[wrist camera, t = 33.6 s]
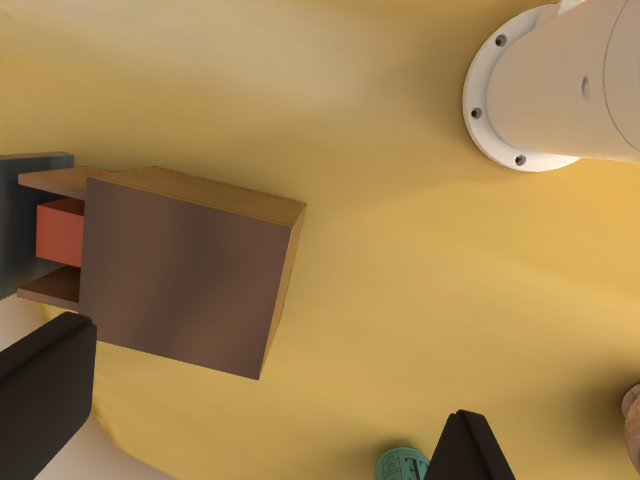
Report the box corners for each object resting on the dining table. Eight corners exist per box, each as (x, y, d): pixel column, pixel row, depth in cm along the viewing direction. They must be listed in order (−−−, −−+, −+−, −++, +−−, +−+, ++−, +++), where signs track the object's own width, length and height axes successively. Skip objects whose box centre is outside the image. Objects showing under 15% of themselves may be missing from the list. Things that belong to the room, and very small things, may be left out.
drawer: (9, 253, 37) (-76, 283, 30) (9, 138, 34) (-86, 139, 27) (188, 298, 37) (148, 339, 30) (204, 187, 34) (165, 201, 27)
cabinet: (141, 287, 38) (76, 335, 29) (154, 165, 35) (85, 176, 26) (279, 321, 38) (258, 380, 29) (307, 203, 35) (292, 228, 26)
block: (76, 195, 34) (36, 204, 30) (123, 207, 34) (91, 218, 30) (73, 241, 35) (35, 256, 31) (119, 253, 35) (88, 269, 31)
